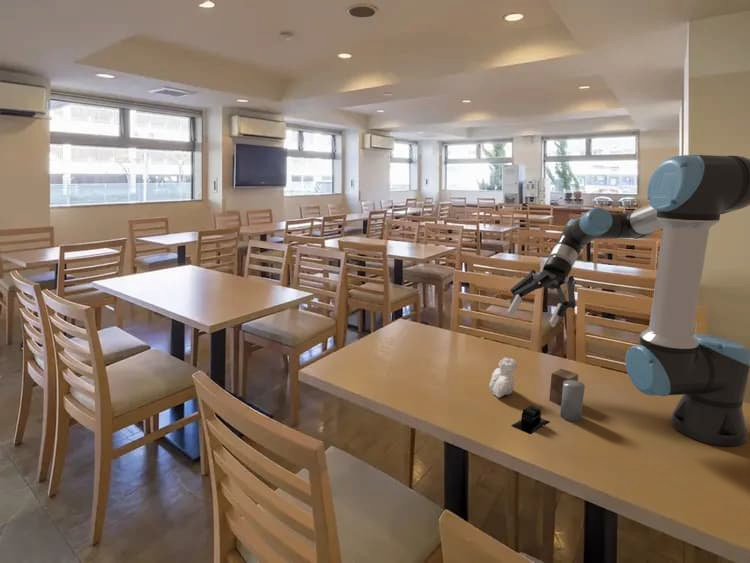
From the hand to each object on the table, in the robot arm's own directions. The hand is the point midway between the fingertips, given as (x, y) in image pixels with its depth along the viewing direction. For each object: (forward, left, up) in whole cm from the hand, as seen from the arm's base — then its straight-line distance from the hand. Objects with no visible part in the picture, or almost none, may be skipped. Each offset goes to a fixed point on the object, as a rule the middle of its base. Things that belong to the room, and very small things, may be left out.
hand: (530, 319), depth 142 cm
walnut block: (-14, +4, -19) cm, 24 cm away
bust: (0, +12, -20) cm, 23 cm away
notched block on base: (-15, +22, -20) cm, 34 cm away
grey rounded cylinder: (-20, +11, -19) cm, 30 cm away
